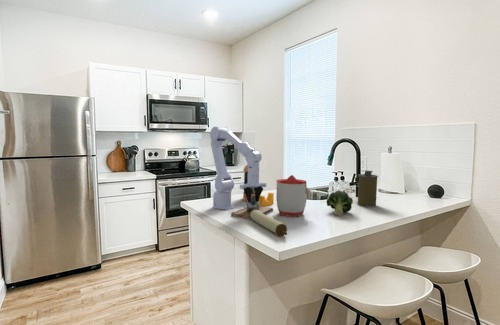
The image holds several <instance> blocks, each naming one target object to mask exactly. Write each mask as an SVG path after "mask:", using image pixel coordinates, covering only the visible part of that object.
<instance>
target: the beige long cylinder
mask: <svg viewBox="0 0 500 325" xmlns="http://www.w3.org/2000/svg"><path fill="white" fill-rule="evenodd" d="M249 217H250V218H251V219H250V220H253V221H254V222H256V223H257V224H259V225H260V226H263V227H264V228H266V229H267V230H269V231H271V232H272V233H274V234H275V235H277V236H278V237H283V236H288V232H287V231H288V228H287V225H286V224H285V223H284V222H281V221H280V220H276V219H274V218H272V217H271V216H269V215H268V214H266V215H265V214H263V213H262V212H261V211H259V210H255V209H253V210H251V211H250V213H249Z"/></svg>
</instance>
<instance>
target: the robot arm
mask: <svg viewBox="0 0 500 325" xmlns="http://www.w3.org/2000/svg"><path fill="white" fill-rule="evenodd" d="M209 136H210V147H211V151H212V155H213V160H214V165H215V170H216V174H217V175H216V176H215V178H214V182H215V183H214V188H215V190H216V191H214V193H213V196H212V197H213V198H212V200H213V201H212V202H213V204H212V208H213V209H219V210H226V211H228V210H230V209H232V208H234V207H235V205H232V191H233V189H234V187H235V183H234V180H233V178H232V176H231V175H230V174H229V173H228V170H227V165H226V161H225V156H224V152H223V148H222V147H223V146H222V145H223V143H224V142H226V141H229V142H230V143H231V144H233V145H234V147H237V151H238V153H240V154H241V155H242V156H243V157H244V158H245V161H246V165H248V184H244V183H242V184H239V189H240V190H243V192H245V194H246V197H247V201H246V202H249V203H251V194H252V190H251V189H250V188H254V189H255V198H256V201H257V202H259V198H260V195H262V192H263V191H264V188H266V187H267V183H266V182H260V162H261V160H262V154H261V152H260V151H258V150H255V151H254V149H255V148H254V147H251V146H250V145H249V143H248V142H247V141H246V142H245V141H241V140H240V139H239V138H238V137H237V136H236V134H234V132H232V130H231V129H230V128H229V127H227V126H213V127H212V128H211V130H210V132H209ZM253 148H254V149H253Z"/></svg>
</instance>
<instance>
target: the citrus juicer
mask: <svg viewBox="0 0 500 325" xmlns="http://www.w3.org/2000/svg"><path fill="white" fill-rule="evenodd" d="M275 181H276V192H275V193H276V196H275V198H276V205H277V210H278V213H279V214H280V215H281V216H282V217H301V216H302V215H303V214H304V212H305V209H306V204H307V197H308V196H307V194H308V193H311V192H312V191H311V189H310V188H309V187H307V180H304V179H298V178H296V177H295V176H294V175H293V174H291V175H289V176H288V177H287V178H283V179H276V180H275Z"/></svg>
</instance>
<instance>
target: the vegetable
mask: <svg viewBox="0 0 500 325" xmlns="http://www.w3.org/2000/svg"><path fill="white" fill-rule="evenodd" d="M353 201H354V200H353V198H352V197H351V196H349V194H348V193H347V192H346V191H340V190H336V191H335V192H331V193H329V195H328V198H327V199H326V206H327V207H330V209H332V210H334V215H335V216H337V217H341V216H343V214H344V213H348V212H350V211H351V210H352V208H353V207H352V204H353V203H354V202H353Z"/></svg>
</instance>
